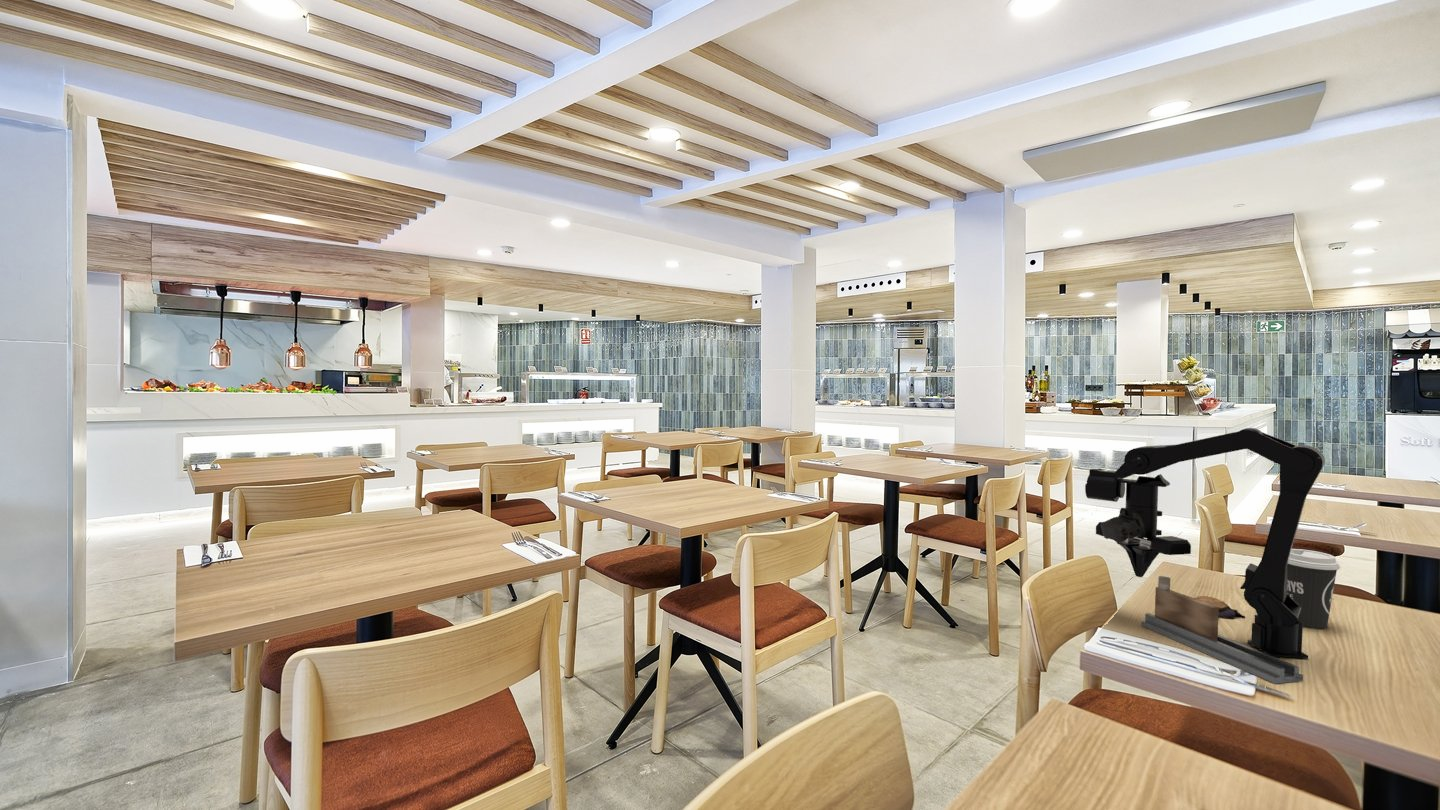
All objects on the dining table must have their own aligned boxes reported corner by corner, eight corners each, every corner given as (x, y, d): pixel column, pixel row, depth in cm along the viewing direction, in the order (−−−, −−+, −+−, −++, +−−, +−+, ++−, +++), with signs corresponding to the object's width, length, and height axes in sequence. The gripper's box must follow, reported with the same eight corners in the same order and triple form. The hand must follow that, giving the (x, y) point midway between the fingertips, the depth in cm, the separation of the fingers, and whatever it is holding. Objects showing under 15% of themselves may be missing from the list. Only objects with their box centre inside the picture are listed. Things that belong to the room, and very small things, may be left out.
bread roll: (1195, 619, 137) (1195, 602, 136) (1174, 605, 145) (1175, 590, 145) (1250, 623, 135) (1251, 606, 134) (1226, 609, 143) (1227, 593, 143)
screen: (1153, 620, 130) (1155, 576, 130) (1161, 619, 131) (1163, 575, 130) (1209, 644, 119) (1211, 595, 118) (1218, 643, 119) (1220, 594, 119)
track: (1141, 625, 131) (1141, 613, 131) (1165, 623, 132) (1165, 611, 132) (1275, 683, 106) (1275, 669, 106) (1302, 680, 107) (1303, 666, 107)
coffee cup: (1294, 612, 139) (1297, 546, 139) (1348, 628, 130) (1351, 557, 130) (1265, 617, 136) (1268, 549, 136) (1319, 634, 127) (1322, 561, 127)
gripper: (1076, 498, 142) (1074, 566, 142) (1148, 515, 124) (1146, 593, 124) (1117, 496, 144) (1115, 563, 145) (1194, 513, 126) (1191, 589, 127)
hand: (1139, 576), depth 135 cm, fingers closed
